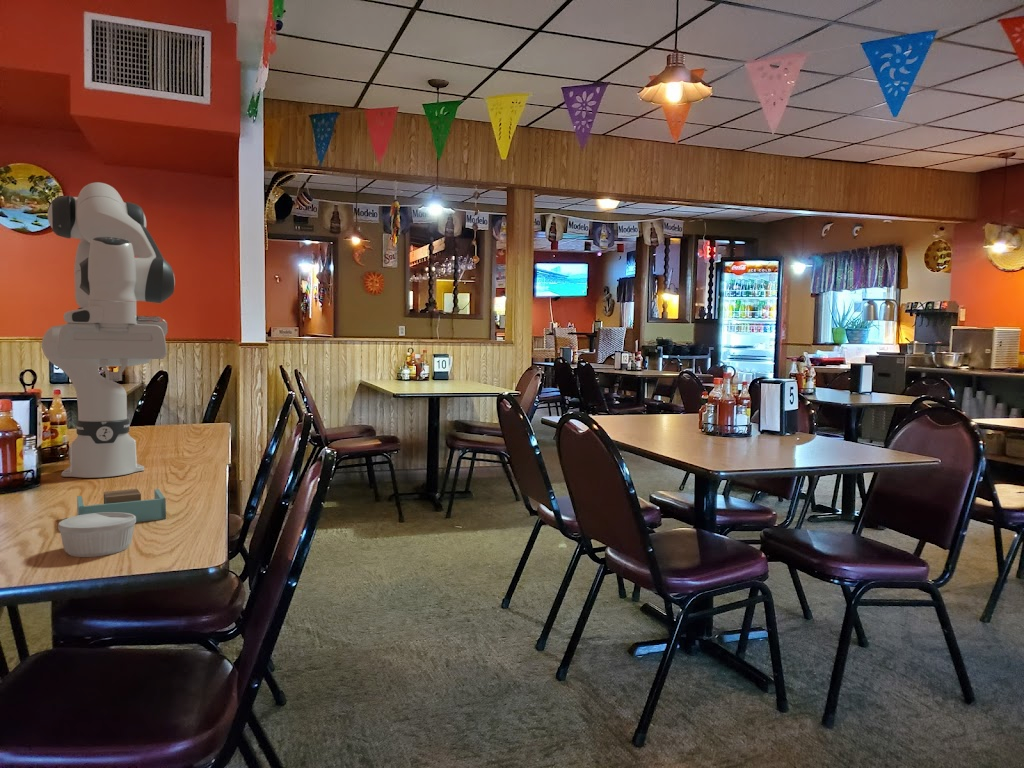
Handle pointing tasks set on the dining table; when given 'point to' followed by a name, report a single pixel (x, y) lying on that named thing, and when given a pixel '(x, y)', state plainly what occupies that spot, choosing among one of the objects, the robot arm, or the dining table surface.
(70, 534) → the ramekin
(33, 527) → the dining table surface
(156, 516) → the box
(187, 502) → the dining table surface
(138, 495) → the walnut tile block
